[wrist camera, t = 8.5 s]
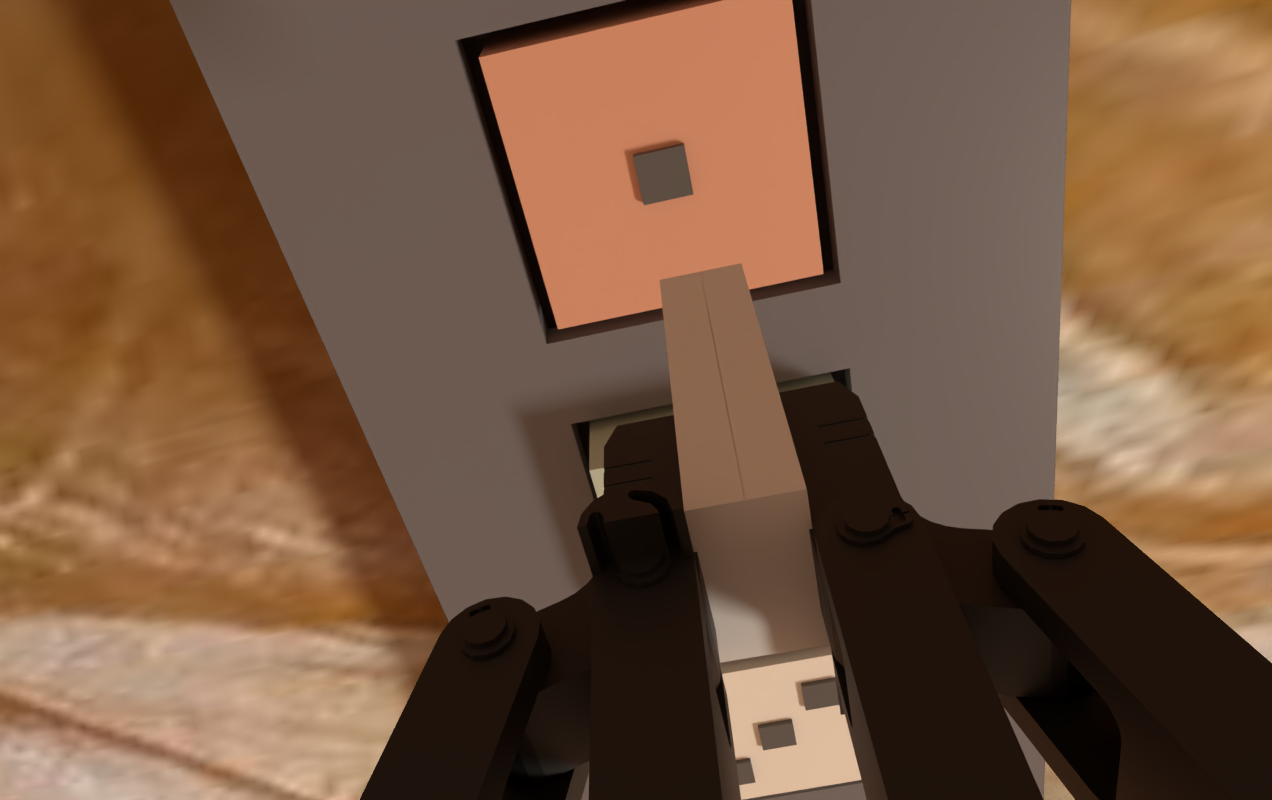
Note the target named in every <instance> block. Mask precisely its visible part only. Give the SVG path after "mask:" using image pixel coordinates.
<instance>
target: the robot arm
mask: <svg viewBox="0 0 1272 800" xmlns="http://www.w3.org/2000/svg"><path fill="white" fill-rule="evenodd" d="M660 290H661V299H662V308H663V318H664V327H665V337H666V346H667V356H668V365H669V374H670V384H671V393H672V403H673V412H674V415H670V416H665V417H660V418H654V419H649V420H644V421H639V422H634V423H628V424H623V425H618V426H616V428H615V429H614V431H613V433H612V434H611V436H610V438H609V439H608V441H607V443H606V444H605V446H604V494H603V495H602V496H600V497H598V498H597V499H595V500H594V501H592V502H591V503H590V505H589V506H588V507H587V508H586V509H585V510H584V511H583V512H582V514H581V516H580V520H579V523H578V526H577V529H578V533H579V536H580V539H581V542H582V545H583V548H584V551H585V554H586V557H587V560H588V564H589V567H590V570H591V573H592V576H593V577H592V578H591V579H590V581H589V582H588V583H587V584H586V585H585V586H583V587H582V588H581V589H580V590H578V591H577V592H576V593H575V594H573V595H571V596H569V597H567V598H565V599H563V600H562V601H559V602H557V603H555V604H553V605H550V606H548V607H546V608H543V609H541V610H539V611H537V612H536V610H535V608H534V607H532V606H531V605H530V604H528V603H527V602H525V601H524V600H522V599H517V598H511V597H498V598H491V599H485V600H483V601H481V602H478V603H476V604H474V605H472V606H469V607H467V608H466V609H464V610H463V611H462V612H460V613H459V614H458V615H457V616H455V617H454V618H453V619H451V620H450V622H449V623H448V625H447V626H446V627H445V629H444V630H443V632H442V633H441V634H440V636H439V638H438V640H437V642H436V644H435V646H434V648H433V650H432V652H431V654H430V656H429V659H428V661H427V663H426V665H425V667H424V669H423V671H422V673H421V675H420V677H419V679H418V681H417V683H416V685H415V687H414V689H413V691H412V693H411V695H410V698H409V700H408V702H407V704H406V706H405V708H404V710H403V712H402V714H401V716H400V718H399V720H398V722H397V724H396V726H395V728H394V730H393V732H392V734H391V737H390V739H389V741H388V743H387V745H386V747H385V749H384V751H383V753H382V755H381V757H380V759H379V761H378V763H377V765H376V767H375V769H374V771H373V773H372V775H371V778H370V780H369V782H368V784H367V786H366V788H365V790H364V792H363V794H362V796H361V798H360V800H581V799H582V795H583V792H584V788H585V785H586V781H587V778H588V774H589V800H741V794H740V787H739V780H738V772H737V765H736V758H735V750H734V743H733V736H732V728H731V721H730V714H729V706H728V699H727V693H726V689H725V685H724V681H723V676H722V672H721V667H720V663H722V662H728V661H734V660H740V659H746V658H752V657H758V656H764V655H770V654H776V653H782V652H788V651H794V650H800V649H806V648H812V647H818V646H824V645H829V643H830V646H831V651H832V658H833V665H834V672H835V679H836V686H837V693H838V699H839V706H840V713H841V715H844V714H845V717H846V721H847V725H848V729H849V733H850V737H851V740H852V744H853V748H854V752H855V756H856V760H857V764H858V768H859V772H860V776H861V780H862V783H863V787H864V791H865V795H866V799H867V800H1044V799H1043V797H1042V795H1041V792H1040V790H1039V788H1038V785H1037V783H1036V781H1035V779H1034V776H1033V774H1032V772H1031V769H1030V767H1029V765H1028V762H1027V760H1026V758H1025V755H1024V753H1023V751H1022V749H1021V746H1020V744H1019V742H1018V739H1017V737H1016V735H1015V732H1014V730H1013V728H1012V726H1011V723H1010V721H1009V719H1008V716H1007V714H1006V712H1005V709H1006V711H1007V712H1008V713H1009V715H1010V716H1011V717H1012V718H1013V720H1014V721H1015V722H1016V724H1017V725H1018V726H1019V727H1020V729H1021V730H1022V731H1023V733H1024V734H1025V735H1026V736H1027V738H1028V739H1029V740H1030V742H1031V743H1032V744H1033V745H1034V747H1035V748H1036V749H1037V751H1038V752H1039V753H1040V755H1041V756H1042V757H1043V758H1044V760H1045V761H1046V762H1047V764H1048V765H1049V766H1050V767H1051V769H1052V770H1053V771H1054V773H1055V774H1056V775H1057V776H1058V778H1059V779H1060V780H1061V782H1062V783H1063V784H1064V785H1065V787H1066V788H1067V789H1068V791H1069V792H1070V793H1071V794H1072V796H1073V797H1074V798H1075V800H1272V663H1271V662H1270V661H1268V660H1267V659H1266V658H1265V657H1264V656H1263V655H1261V654H1260V653H1259V652H1258V651H1257V650H1256V649H1254V648H1253V647H1252V646H1251V645H1250V644H1249V643H1248V642H1246V641H1245V640H1244V639H1243V638H1242V637H1241V636H1239V635H1238V634H1237V633H1236V632H1235V631H1234V630H1233V629H1231V628H1230V627H1229V626H1228V625H1227V624H1226V623H1224V622H1223V621H1222V620H1221V619H1220V618H1219V617H1217V616H1216V615H1215V614H1214V613H1213V612H1212V611H1211V610H1209V609H1208V608H1207V607H1206V606H1205V605H1204V604H1202V603H1201V602H1200V601H1199V600H1198V599H1197V598H1196V597H1194V596H1193V595H1192V594H1191V593H1190V592H1189V591H1187V590H1186V589H1185V588H1184V587H1183V586H1182V585H1180V584H1179V583H1178V582H1177V581H1176V580H1175V579H1174V578H1172V577H1171V576H1170V575H1169V574H1168V573H1167V572H1165V571H1164V570H1163V569H1162V568H1161V567H1160V566H1159V565H1157V564H1156V563H1155V562H1154V561H1153V560H1152V559H1150V558H1149V557H1148V556H1147V555H1146V554H1145V553H1143V552H1142V551H1141V550H1140V549H1139V548H1138V547H1137V546H1135V545H1134V544H1133V543H1132V542H1131V541H1130V540H1128V539H1127V538H1126V537H1125V536H1124V535H1123V534H1122V533H1120V532H1119V531H1118V530H1117V529H1116V528H1115V527H1113V526H1112V525H1111V524H1110V523H1109V522H1108V521H1106V520H1105V519H1104V518H1103V517H1101V516H1100V515H1098V514H1096V513H1095V512H1093V511H1092V510H1090V509H1088V508H1087V507H1085V506H1081V505H1078V504H1074V503H1071V502H1067V501H1064V500H1047V499H1038V500H1033V501H1028V502H1023V503H1018V504H1016V505H1015V506H1013V507H1011V508H1009V509H1007V510H1006V511H1004V512H1002V513H1001V515H1000V516H999V517H998V519H997V520H996V521H995V523H994V524H993V530H986V529H968V528H957V527H950V526H944V525H941V524H938V523H934V522H931V521H929V520H927V519H925V518H923V517H921V516H920V515H919V514H918V513H917V511H916V510H915V509H914V508H913V506H912V505H910V504H908V503H907V502H905V501H904V500H903V499H902V497H901V495H900V493H899V491H898V488H897V486H896V484H895V481H894V479H893V476H892V474H891V472H890V469H889V467H888V465H887V462H886V460H885V458H884V455H883V453H882V450H881V448H880V446H879V443H878V441H877V439H876V437H875V435H874V432H873V429H872V427H871V424H870V422H869V421H868V418H867V415H866V413H865V410H864V408H863V405H862V403H861V401H860V398H859V396H857V395H856V394H855V393H853V392H852V391H851V390H849V389H848V388H846V387H845V386H844V385H842V384H841V383H840V382H838V381H836V382H831V383H826V384H821V385H815V386H810V387H805V388H800V389H794V390H789V391H784V392H779V391H778V388H777V385H776V381H775V378H774V374H773V371H772V367H771V364H770V360H769V357H768V353H767V350H766V346H765V343H764V340H763V336H762V333H761V329H760V326H759V322H758V319H757V315H756V312H755V308H754V305H753V302H752V298H751V295H750V291H749V288H748V284H747V281H746V277H745V274H744V270H743V267H742V263H740V264H735V265H730V266H725V267H720V268H715V269H710V270H705V271H701V272H696V273H691V274H686V275H681V276H676V277H671V278H666V279H661V280H660ZM1004 708H1005V709H1004Z"/></svg>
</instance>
